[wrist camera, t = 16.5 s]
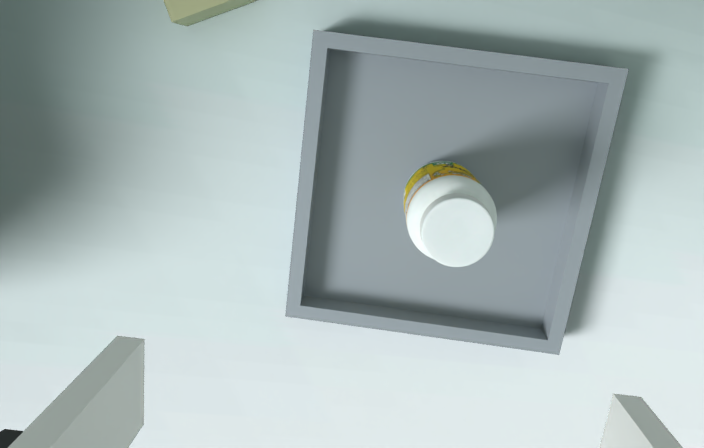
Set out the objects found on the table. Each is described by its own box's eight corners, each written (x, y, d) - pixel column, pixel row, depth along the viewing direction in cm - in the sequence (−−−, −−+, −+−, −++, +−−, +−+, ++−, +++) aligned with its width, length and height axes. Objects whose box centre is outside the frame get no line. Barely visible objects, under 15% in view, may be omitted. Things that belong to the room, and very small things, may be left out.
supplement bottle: (388, 203, 40) (388, 241, 31) (435, 143, 39) (449, 164, 29) (446, 247, 40) (464, 297, 31) (494, 189, 39) (528, 224, 30)
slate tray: (291, 302, 43) (285, 316, 41) (318, 32, 38) (313, 29, 35) (549, 338, 42) (559, 354, 40) (613, 69, 37) (628, 68, 35)
